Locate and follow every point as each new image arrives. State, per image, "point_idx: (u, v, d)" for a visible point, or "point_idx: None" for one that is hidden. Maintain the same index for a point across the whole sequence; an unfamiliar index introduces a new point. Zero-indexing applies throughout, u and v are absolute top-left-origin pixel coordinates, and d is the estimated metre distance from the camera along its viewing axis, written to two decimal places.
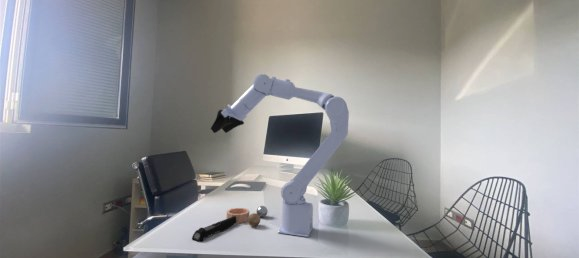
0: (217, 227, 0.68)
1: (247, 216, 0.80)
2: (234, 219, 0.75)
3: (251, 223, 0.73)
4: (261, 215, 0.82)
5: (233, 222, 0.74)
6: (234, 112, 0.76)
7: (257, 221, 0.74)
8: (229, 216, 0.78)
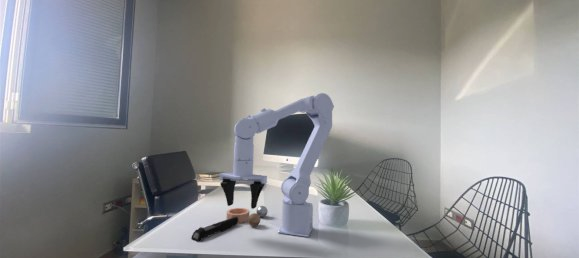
0: (217, 227, 0.68)
1: (247, 216, 0.80)
2: (236, 220, 0.75)
3: (251, 223, 0.73)
4: (261, 215, 0.82)
5: (234, 223, 0.74)
6: (252, 174, 0.68)
7: (257, 221, 0.74)
8: (229, 216, 0.78)
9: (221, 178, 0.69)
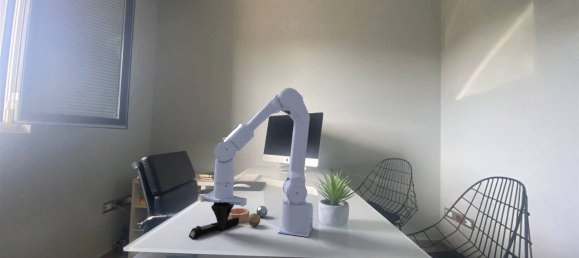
0: (215, 227, 0.69)
1: (247, 216, 0.80)
2: (236, 220, 0.75)
3: (251, 223, 0.73)
4: (261, 215, 0.82)
5: (235, 223, 0.74)
6: (232, 196, 0.69)
7: (257, 221, 0.74)
8: (229, 216, 0.78)
9: (202, 200, 0.70)
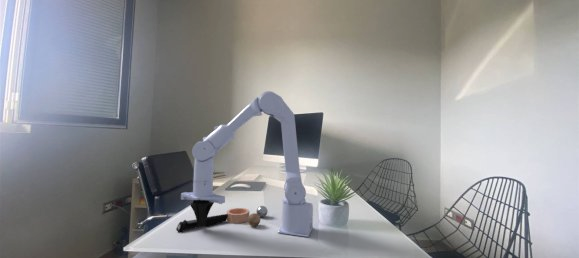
0: None
1: (247, 216, 0.80)
2: (224, 217, 0.78)
3: (251, 223, 0.73)
4: (261, 215, 0.82)
5: (222, 219, 0.77)
6: (211, 194, 0.71)
7: (257, 221, 0.74)
8: (229, 216, 0.78)
9: (182, 198, 0.72)
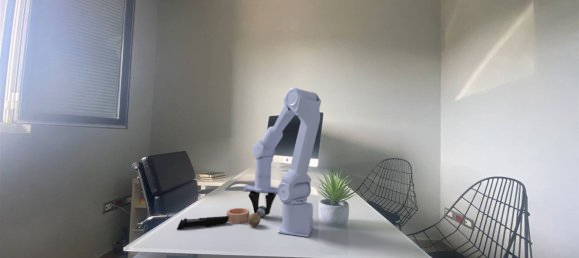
0: (200, 221, 0.73)
1: (247, 216, 0.80)
2: (225, 219, 0.76)
3: (251, 223, 0.73)
4: (261, 215, 0.82)
5: (222, 221, 0.75)
6: (270, 187, 0.84)
7: (257, 221, 0.74)
8: (229, 216, 0.78)
9: (245, 190, 0.85)
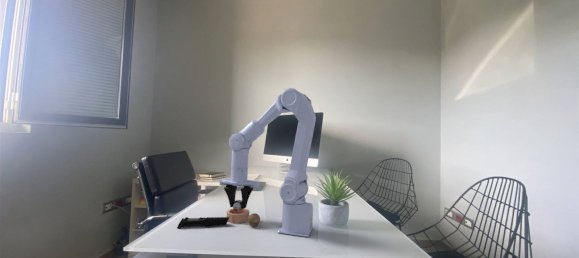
0: (199, 221, 0.73)
1: (247, 216, 0.80)
2: (225, 220, 0.75)
3: (251, 223, 0.73)
4: (237, 209, 0.80)
5: (222, 222, 0.74)
6: (247, 180, 0.81)
7: (257, 221, 0.74)
8: (229, 216, 0.78)
9: (221, 183, 0.82)
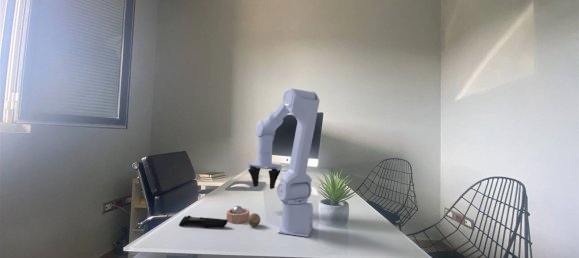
0: (198, 221, 0.73)
1: (247, 216, 0.80)
2: (222, 222, 0.72)
3: (251, 223, 0.73)
4: None
5: (219, 224, 0.72)
6: (271, 163, 0.90)
7: (257, 221, 0.74)
8: (229, 216, 0.78)
9: (249, 166, 0.93)
